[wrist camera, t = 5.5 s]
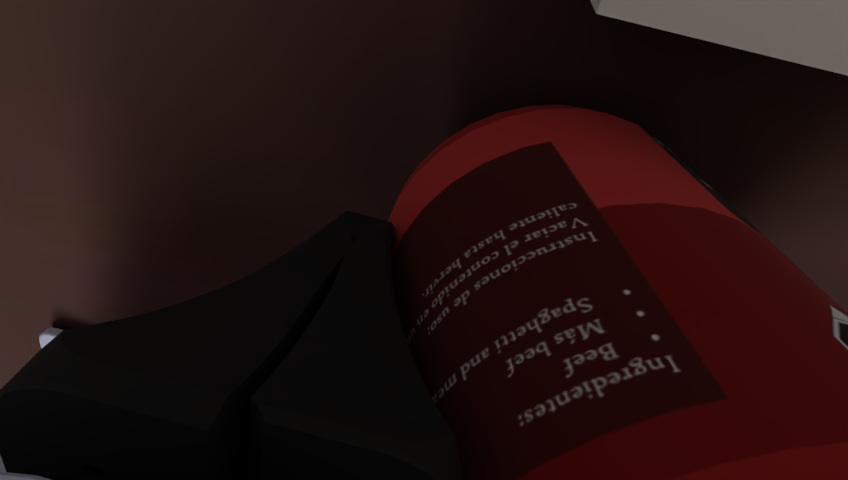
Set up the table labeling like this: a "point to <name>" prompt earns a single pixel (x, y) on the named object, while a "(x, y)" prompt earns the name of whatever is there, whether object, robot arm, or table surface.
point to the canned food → (610, 312)
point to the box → (750, 25)
